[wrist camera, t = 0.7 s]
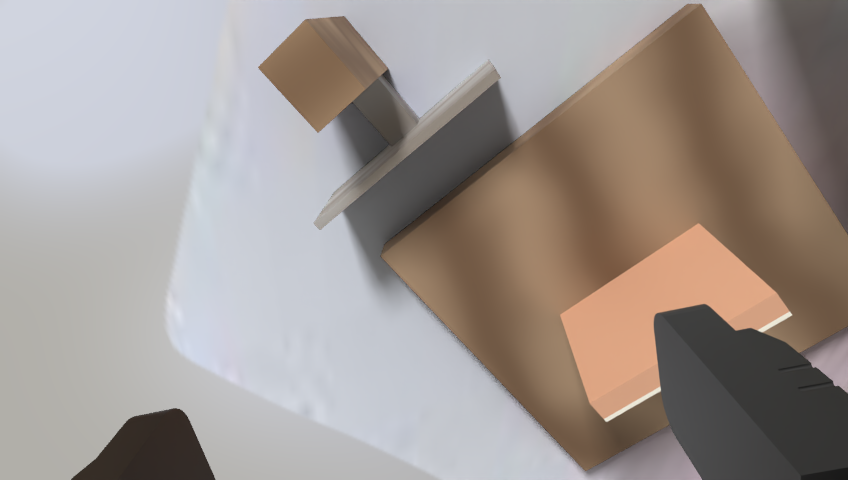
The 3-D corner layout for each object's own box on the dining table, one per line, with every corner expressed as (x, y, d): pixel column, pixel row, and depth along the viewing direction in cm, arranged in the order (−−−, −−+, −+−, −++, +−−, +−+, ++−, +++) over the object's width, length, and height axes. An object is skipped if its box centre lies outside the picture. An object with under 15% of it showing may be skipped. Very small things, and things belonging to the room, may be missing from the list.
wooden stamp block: (253, 105, 27) (189, 137, 21) (406, -46, 24) (388, -65, 18) (339, 197, 29) (305, 253, 22) (493, 66, 26) (506, 86, 19)
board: (687, 3, 24) (701, 3, 23) (870, 288, 29) (890, 302, 28) (384, 244, 29) (380, 256, 28) (580, 452, 34) (585, 471, 33)
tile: (698, 223, 26) (776, 292, 20) (711, 241, 27) (792, 314, 20) (560, 314, 29) (589, 403, 22) (573, 330, 29) (606, 422, 23)
